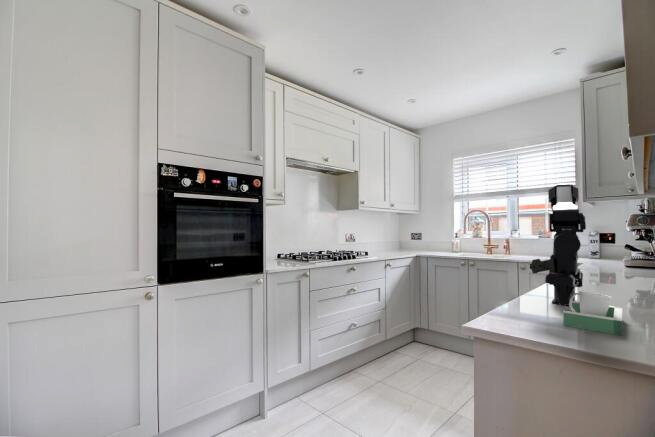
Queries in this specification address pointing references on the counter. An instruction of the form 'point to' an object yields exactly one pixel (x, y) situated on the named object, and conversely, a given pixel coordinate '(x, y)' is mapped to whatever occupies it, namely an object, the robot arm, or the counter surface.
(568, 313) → the pocket
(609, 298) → the cup
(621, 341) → the counter surface
